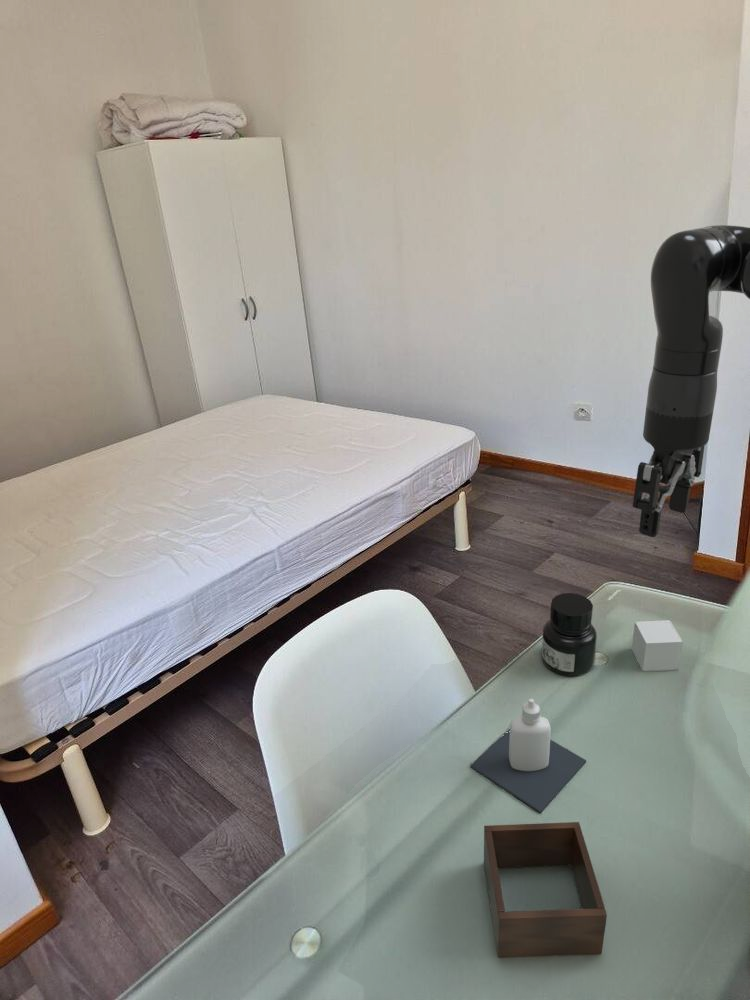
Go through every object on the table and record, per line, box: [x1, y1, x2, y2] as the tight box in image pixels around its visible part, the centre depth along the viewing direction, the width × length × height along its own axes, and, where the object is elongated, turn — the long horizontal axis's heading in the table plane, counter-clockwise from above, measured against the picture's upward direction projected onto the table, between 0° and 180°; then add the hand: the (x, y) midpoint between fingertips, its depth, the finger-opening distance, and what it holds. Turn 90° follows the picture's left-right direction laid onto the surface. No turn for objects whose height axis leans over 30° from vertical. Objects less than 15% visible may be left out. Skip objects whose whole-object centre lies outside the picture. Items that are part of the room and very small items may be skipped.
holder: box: [483, 821, 608, 958], centre depth 81 cm, size 12×12×7 cm
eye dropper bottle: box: [509, 698, 552, 771], centre depth 98 cm, size 4×6×12 cm
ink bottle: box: [541, 592, 598, 677], centre depth 118 cm, size 10×9×12 cm
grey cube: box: [631, 619, 684, 672], centre depth 118 cm, size 6×6×6 cm
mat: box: [470, 728, 587, 814], centre depth 101 cm, size 12×12×1 cm
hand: (663, 522), depth 90 cm, fingers open, 8 cm apart
